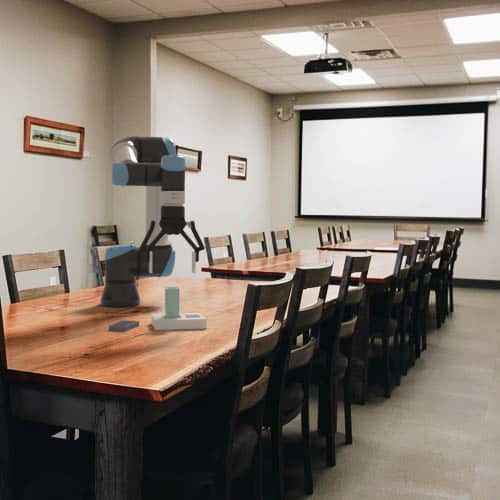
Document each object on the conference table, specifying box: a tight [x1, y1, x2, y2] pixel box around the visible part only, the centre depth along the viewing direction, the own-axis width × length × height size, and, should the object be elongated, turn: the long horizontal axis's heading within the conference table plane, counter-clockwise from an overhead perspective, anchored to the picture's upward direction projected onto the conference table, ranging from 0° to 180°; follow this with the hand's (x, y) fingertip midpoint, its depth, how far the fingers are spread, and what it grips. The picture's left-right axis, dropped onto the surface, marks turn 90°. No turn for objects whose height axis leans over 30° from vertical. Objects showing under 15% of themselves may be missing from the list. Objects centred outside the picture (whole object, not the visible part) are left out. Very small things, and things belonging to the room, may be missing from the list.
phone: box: [108, 319, 140, 333], centre depth 202 cm, size 10×6×2 cm, turn 166°
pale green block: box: [164, 286, 180, 318], centre depth 206 cm, size 4×4×12 cm
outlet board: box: [150, 312, 208, 331], centre depth 207 cm, size 12×16×3 cm
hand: (172, 272), depth 206 cm, fingers open, 13 cm apart
